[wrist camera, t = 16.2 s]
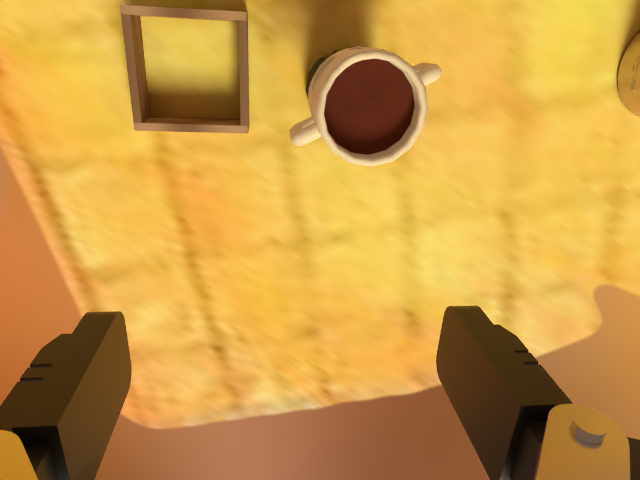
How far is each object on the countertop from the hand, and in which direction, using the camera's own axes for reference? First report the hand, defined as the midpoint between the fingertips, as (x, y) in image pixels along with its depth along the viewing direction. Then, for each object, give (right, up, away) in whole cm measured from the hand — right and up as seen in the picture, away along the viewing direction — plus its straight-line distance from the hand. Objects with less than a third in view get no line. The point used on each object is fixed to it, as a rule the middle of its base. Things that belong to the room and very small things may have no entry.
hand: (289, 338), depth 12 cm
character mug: (+3, +16, +29) cm, 33 cm away
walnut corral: (-10, +17, +27) cm, 33 cm away
